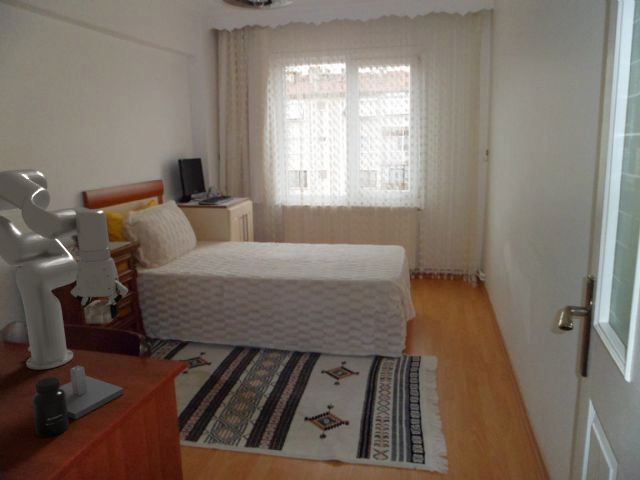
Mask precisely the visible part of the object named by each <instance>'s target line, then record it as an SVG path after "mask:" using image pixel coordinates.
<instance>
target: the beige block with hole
mask: <svg viewBox="0 0 640 480" xmlns="http://www.w3.org/2000/svg"><path fill="white" fill-rule="evenodd" d="M91 302H92V303H90V304H89V305H87V306H86V307H85V308H84V307H83V312H85V313H84V320H85V324H110V323H111V322H112V321H113V320H114V319H112V318H111V309H110V305H112V304H111V302H110V300H109V299H97V300H96V299H94V301H91ZM119 315H120V313H119V314H118V316H119Z"/></svg>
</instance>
